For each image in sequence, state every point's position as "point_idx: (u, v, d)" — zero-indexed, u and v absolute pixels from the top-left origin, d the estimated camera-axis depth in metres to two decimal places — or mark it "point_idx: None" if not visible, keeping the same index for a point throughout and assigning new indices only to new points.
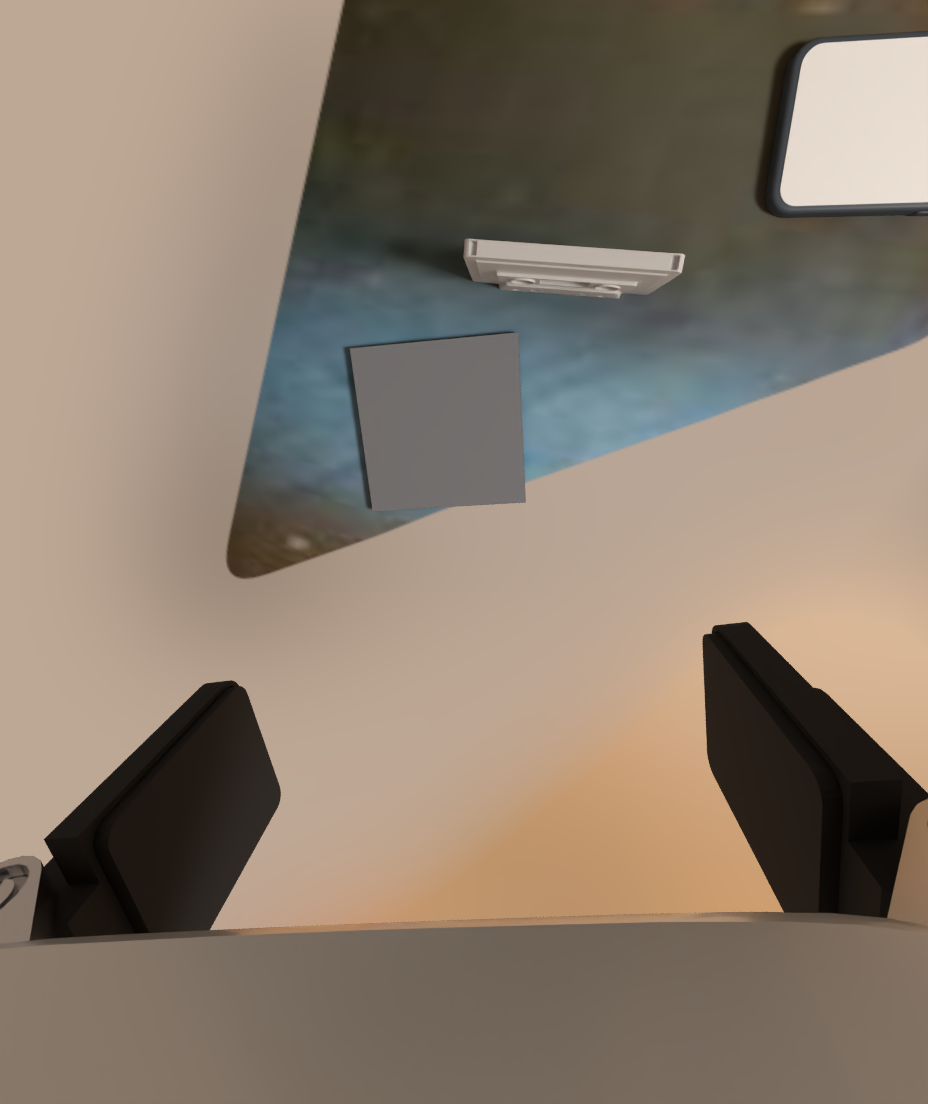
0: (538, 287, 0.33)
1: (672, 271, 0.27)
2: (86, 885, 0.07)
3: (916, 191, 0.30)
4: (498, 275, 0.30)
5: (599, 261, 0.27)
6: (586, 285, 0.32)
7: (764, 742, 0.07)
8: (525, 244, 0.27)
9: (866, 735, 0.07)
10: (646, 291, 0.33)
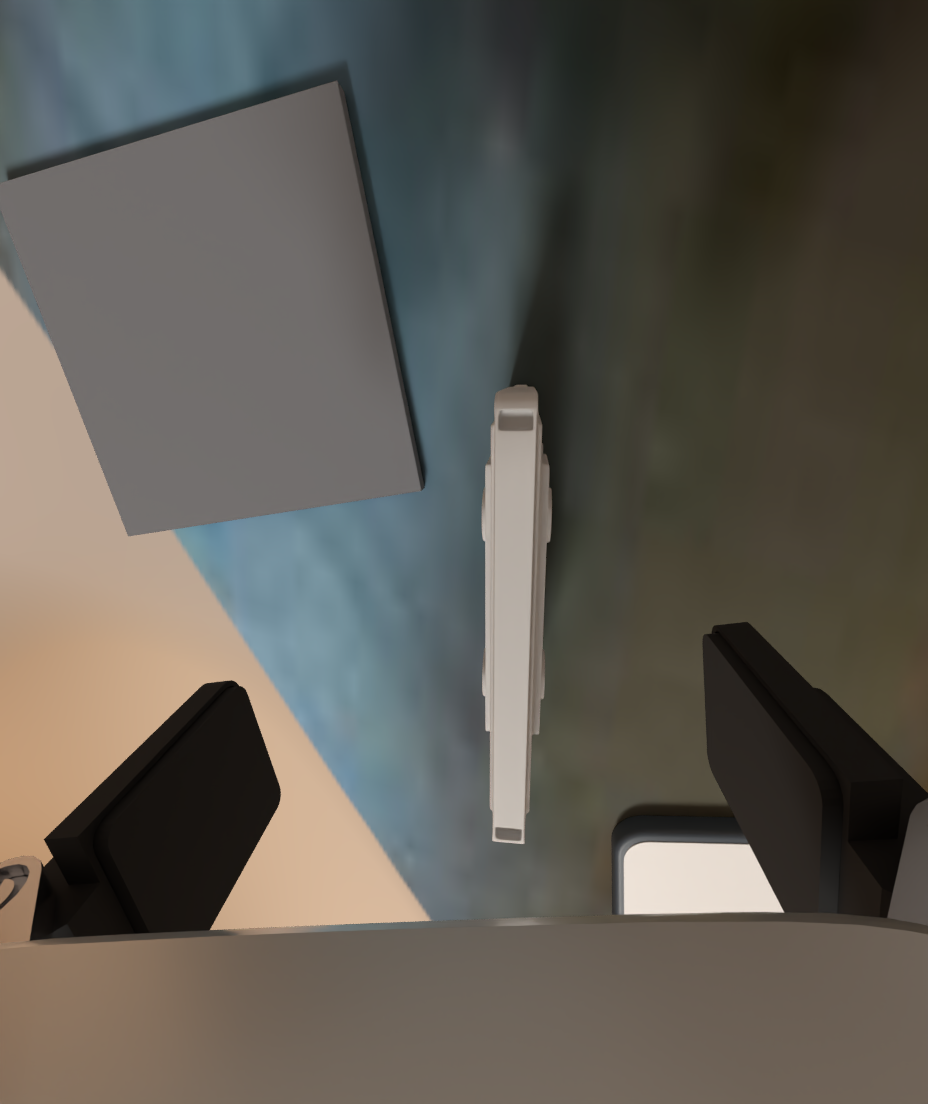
0: None
1: (493, 829, 0.14)
2: (86, 885, 0.07)
3: None
4: (486, 468, 0.13)
5: (502, 708, 0.12)
6: None
7: (764, 742, 0.07)
8: (528, 553, 0.11)
9: (866, 735, 0.07)
10: None
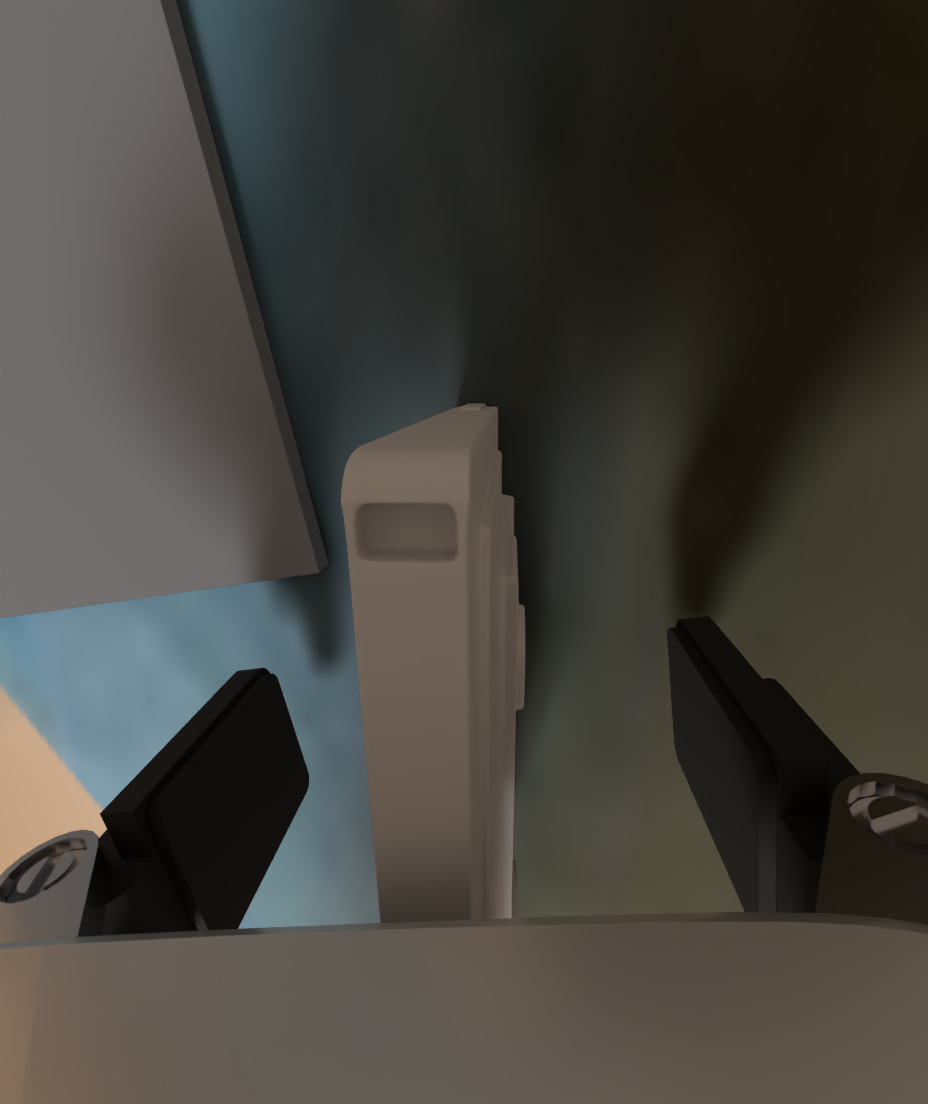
0: None
1: None
2: (140, 858, 0.07)
3: None
4: None
5: None
6: None
7: (715, 728, 0.07)
8: (460, 857, 0.04)
9: (811, 721, 0.07)
10: None
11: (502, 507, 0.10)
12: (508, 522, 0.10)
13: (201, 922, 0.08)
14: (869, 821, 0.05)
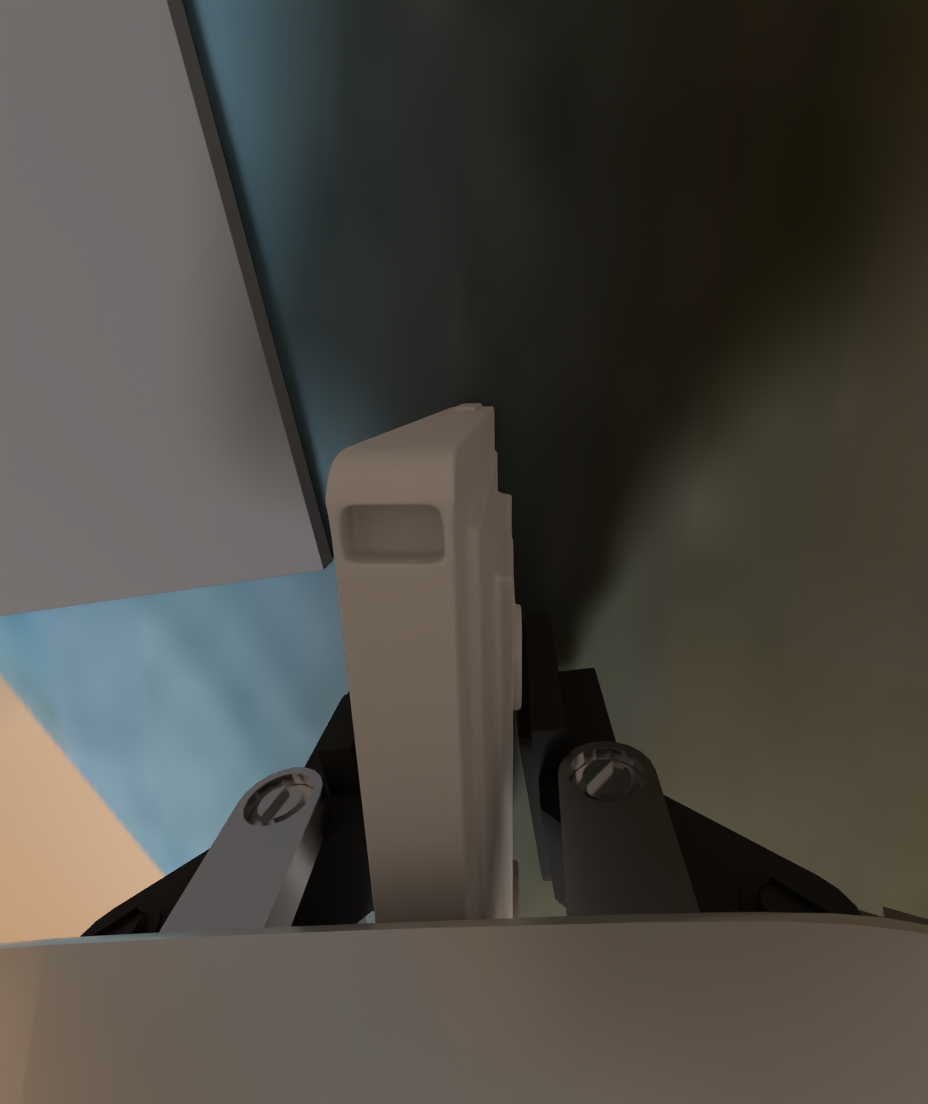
0: None
1: None
2: (351, 794, 0.08)
3: None
4: None
5: None
6: None
7: None
8: (454, 859, 0.04)
9: (603, 703, 0.09)
10: None
11: (499, 507, 0.10)
12: (505, 522, 0.10)
13: None
14: (582, 778, 0.07)
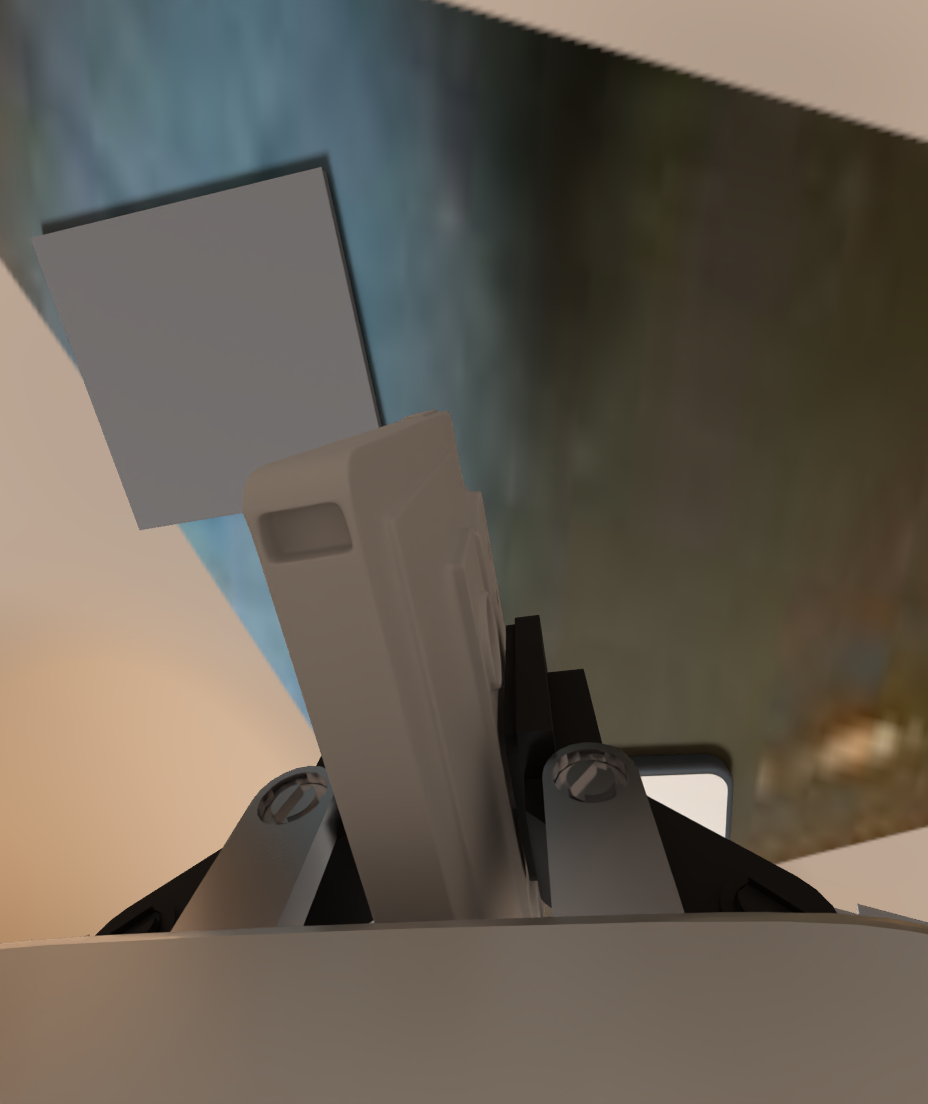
0: None
1: None
2: None
3: None
4: None
5: None
6: None
7: None
8: (420, 820, 0.05)
9: (591, 704, 0.09)
10: None
11: (469, 504, 0.11)
12: (475, 517, 0.10)
13: None
14: (566, 779, 0.07)
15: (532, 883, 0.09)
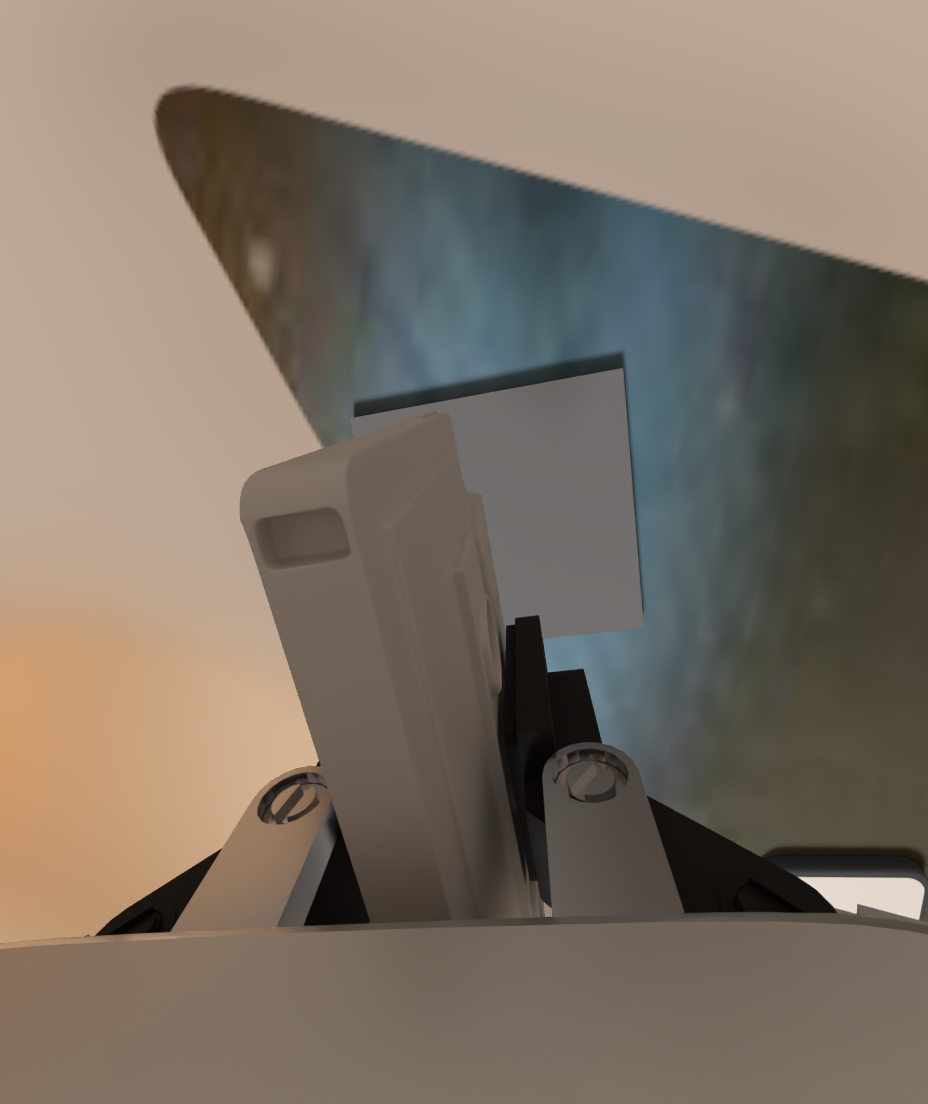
0: None
1: None
2: None
3: None
4: None
5: None
6: None
7: None
8: (419, 828, 0.05)
9: (591, 704, 0.09)
10: None
11: (469, 506, 0.11)
12: (475, 519, 0.10)
13: None
14: (567, 779, 0.07)
15: (532, 887, 0.09)
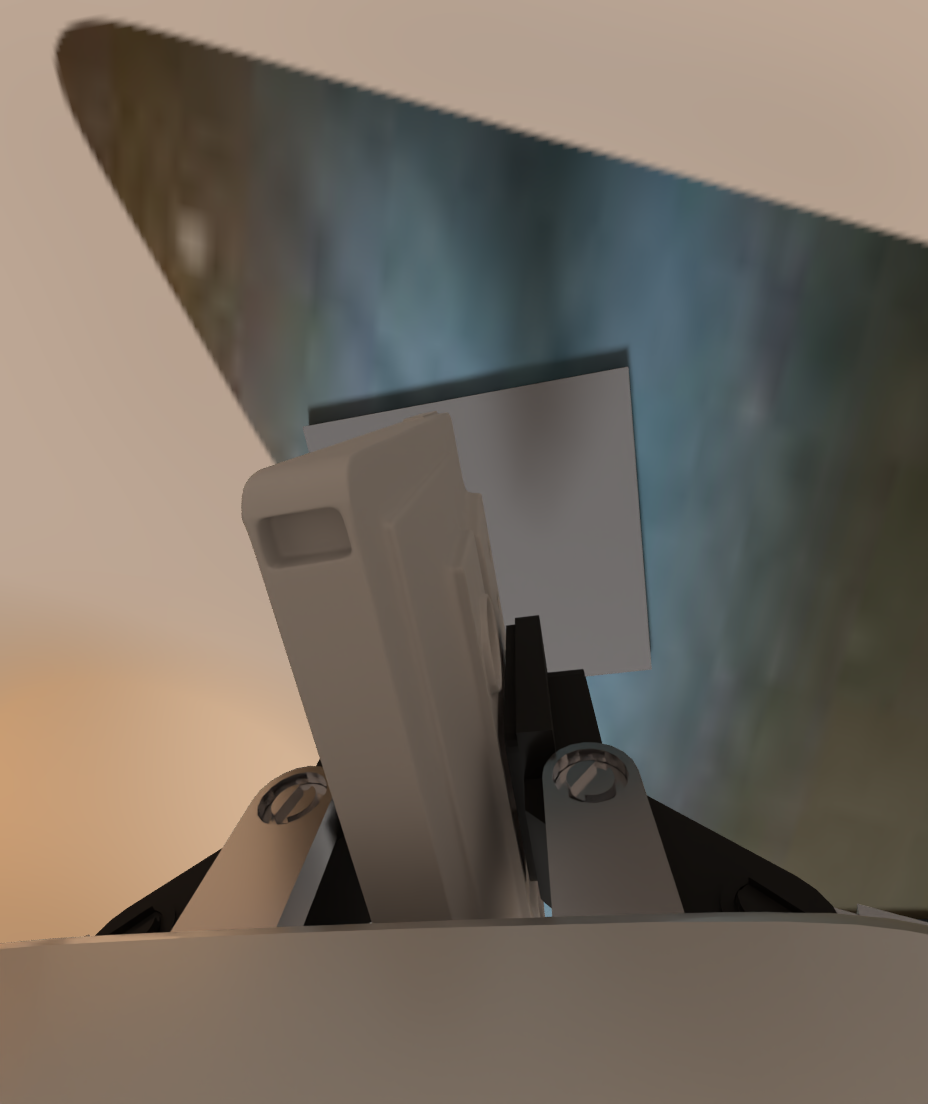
0: None
1: None
2: None
3: None
4: None
5: None
6: None
7: None
8: (419, 826, 0.05)
9: (591, 704, 0.09)
10: None
11: (470, 506, 0.11)
12: (476, 519, 0.10)
13: None
14: (566, 779, 0.07)
15: (532, 886, 0.09)
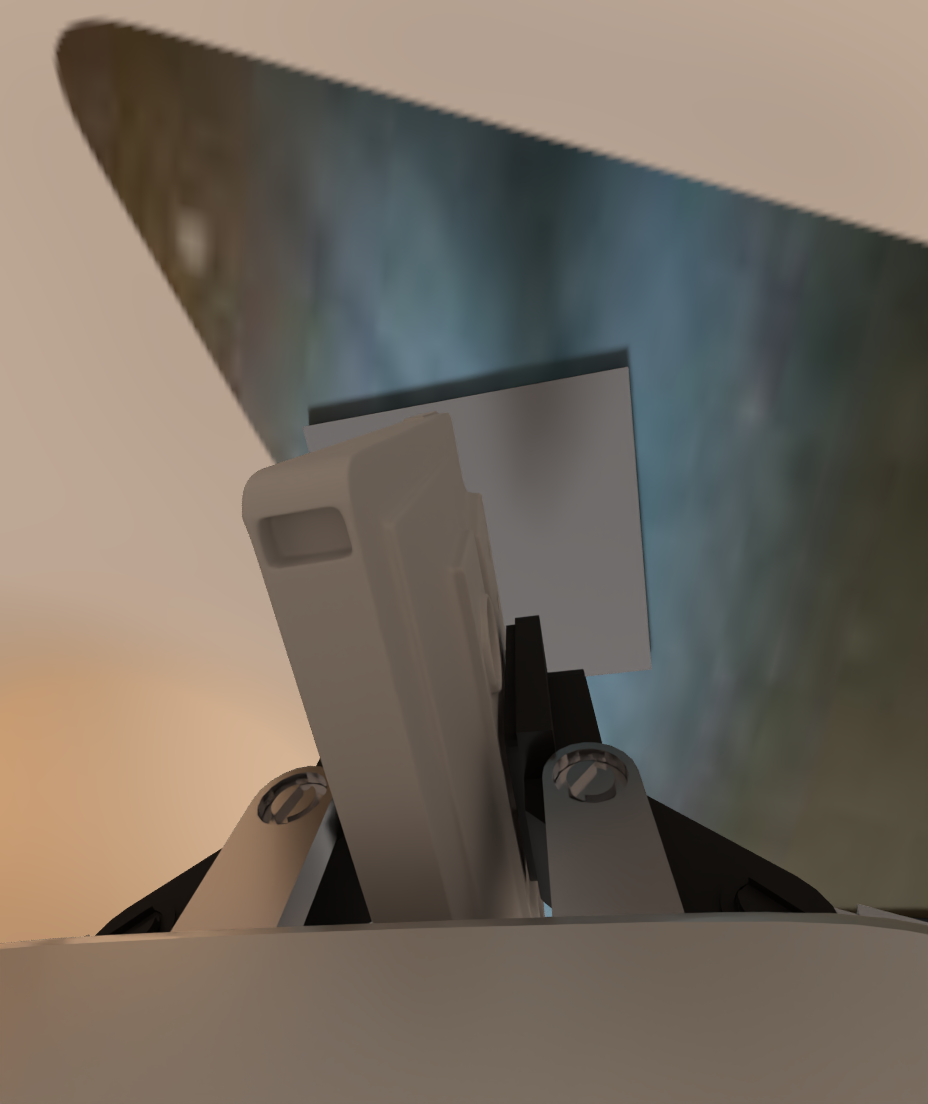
0: None
1: None
2: None
3: None
4: None
5: None
6: None
7: None
8: (419, 826, 0.05)
9: (591, 704, 0.09)
10: None
11: (469, 506, 0.11)
12: (475, 519, 0.10)
13: None
14: (566, 779, 0.07)
15: (532, 886, 0.09)
